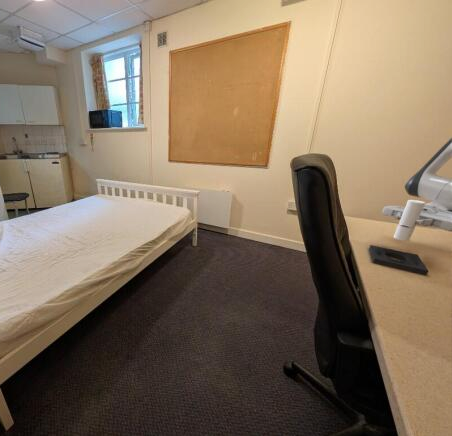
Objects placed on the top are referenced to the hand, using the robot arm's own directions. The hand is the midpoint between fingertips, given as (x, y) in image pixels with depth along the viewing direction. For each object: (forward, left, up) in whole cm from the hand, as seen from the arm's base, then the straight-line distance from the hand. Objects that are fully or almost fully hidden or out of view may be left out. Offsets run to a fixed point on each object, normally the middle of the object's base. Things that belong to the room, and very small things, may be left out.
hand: (408, 219), depth 82 cm
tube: (0, -1, -8) cm, 8 cm away
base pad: (-1, +2, -17) cm, 17 cm away
